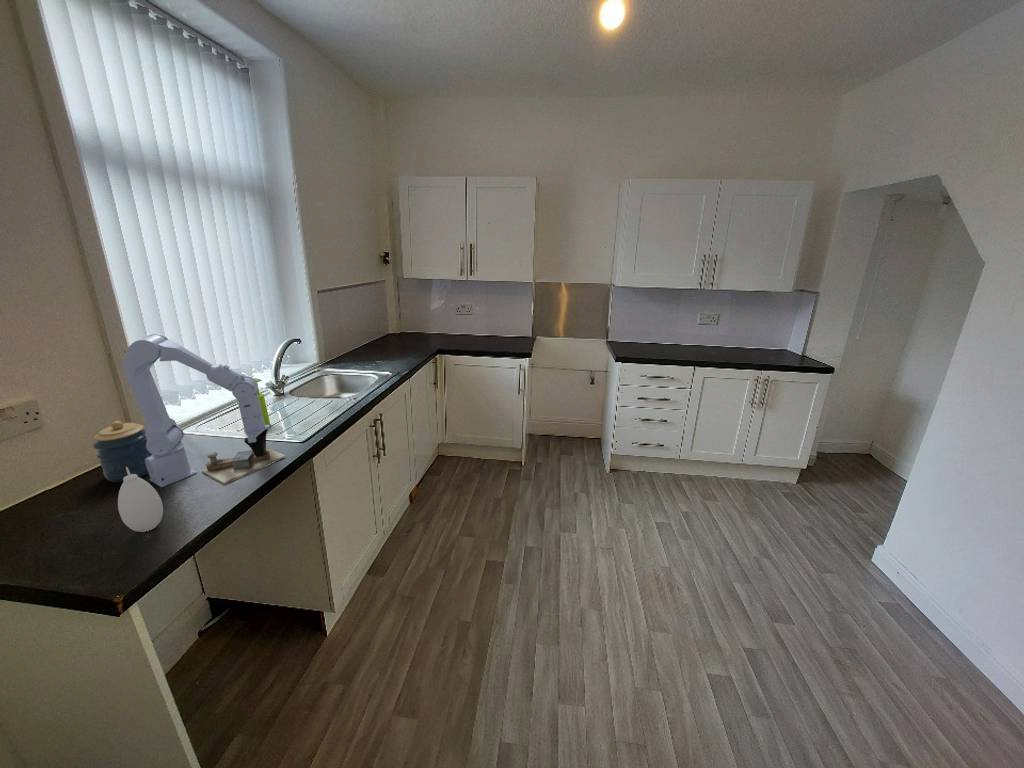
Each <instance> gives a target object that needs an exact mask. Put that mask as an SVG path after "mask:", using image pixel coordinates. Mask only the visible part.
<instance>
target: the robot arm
mask: <svg viewBox="0 0 1024 768" xmlns="http://www.w3.org/2000/svg"><path fill="white" fill-rule="evenodd" d="M125 352H126V355H125V358H124V362H123V365H122V370H123V373H124V375H125V378H126V379H127V382H128V384H129V387H130V389H131V391H132V393H133V396H134V399H135V400H136V402H137V403H136V404H137V405H138V408H139V409H140V412H141V414H142V417H143V419H144V421H145V423H146V429H145V430H146V434H145V436H146V438H147V444H146V448H147V450H148V451H149V452H150V453H151V454H153V455H152V456H150V457H148V458H146V459H145V464H146V467H147V470H148V473H149V474H148V476H149V477H150V479H149V480H150V481H151V482H152V483H153V484H155V485H156V486H158V487H160V488H164V487H166V486H169V485H171V484H173V483H174V484H175V483H176V482H178V481H181V480H183V479H187V478H188V477H191V476H193V475H196V474H197V473H198V472H197V471H196V470H195V469H193V468H191V465H190V462H189V459H188V456H187V452H186V448H185V445H184V443H183V442H182V440H183V438H184V436H185V433H184V432H185V431H183V429H182V428H181V427H180V426H179V425H178V424H177V422H176V420H175V419H173V418H170V416H169V413H168V411H167V409H166V406H165V404H164V401H163V399H162V396H161V393H160V391H159V389H158V386H157V384H156V381H155V379H154V375H153V374H152V371H151V368H152V367H153V366H154V365H155V363H156V362H157V360H159V362H173V361H174V362H178V363H180V364H182V365H184V366H186V367H189V368H191V369H193V370H196V371H198V372H200V373H202V374H204V375H205V376H206V379H207V380H208V381H209V382H211V383H213V384H215V385H217V386H218V387H221V388H223V389H224V390H227V391H229V392H231V394H232V396H233V397H234V398H235V399H237V403H238V404H237V405H238V409H239V413H240V416H241V421H242V425H243V428H244V429H243V432H244V434H245V435H246V437H244V439H243V440H244V443H245V444H246V445H248V447H249V448H250V450H252V451H253V453H254V454H255V456H256V457H261V456H264V443H265V447H267V433H268V430H269V429H270V427H271V424H270V425H265V423H264V418H263V414H262V409H261V405H260V401H259V398H258V394H257V392H256V391H257V389H259V382H257V381H256V380H254V379H253V377H252V376H246V375H244V374H239V373H238V372H236V371H235V370H232V369H231V368H230V366H229V365H227V364H224V365H223V364H221V363H220V364H213V363H211V362H209V361H207V360H206V359H204V358H202V357H200V356H198V354H195V353H194V352H192V351H190V350H189V349H187V348H185V346H184V347H183V346H182V345H180V344H179V343H178V342H177V341H175V340H174V339H171V338H167V337H166V336H165V335H163V334H161V333H153V334H149V335H148V336H145V337H143V338H141V339H139V340H135V341H134V342H132V343H131V344H130V345H129V346H128V347H127V348H126V349H125ZM255 392H256V393H255Z"/></svg>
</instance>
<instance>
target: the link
mask: <svg viewBox="0 0 1024 768" xmlns="http://www.w3.org/2000/svg"><path fill="white" fill-rule="evenodd" d="M266 447H267V446H266ZM266 447H265V443H264V456H261V457H256V456H255V454H253V455H252V456H251V458H250V460H251V462H254V461H259V460H265V459H269V457H270V453H269V451H266ZM218 455H219V454H218V452H216V451H215V452H210V453H208V454H207V455H206V456H207V458H208V459H210V460H209V461H208V462H207V463H206V464H205V467H206V468H207V470H217V469H220V468H223V467H228V466H232V462H231V461H232V460H233V459H234V457H235V456H233V457H227V458H222V459H218V458H217V456H218Z"/></svg>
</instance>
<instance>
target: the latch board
mask: <svg viewBox="0 0 1024 768" xmlns="http://www.w3.org/2000/svg"><path fill="white" fill-rule="evenodd" d="M266 451H269V453H270V457H269V459H265V460H259V461H254V462H251V464H252V466H251V467H250V468H247V469H240V470H234V469H233V466H228V467H223V468H220V469H217V470H207V467H206V468H203V469H201V472H202V474H204V475H207V476H208V477H210V478H212V479H213V480H215V481H217V482H218V483H221V484H222V485H228V484H229V482H230V483H232V482H234V481H236V480H239V479H241V478H243V477H246V476H247V474H248V475H250V474H252V473H254V472H253V471H255V470H257V469H259V468H261V469H263V468H262V467H264V466H266V465H268V464H270V463H272V462H274V461H276V460H279V459H281V458H284V457H286V455H285V454H283V453H280V452H278V451H275V450H274V449H271V448H269V447H267V446H266ZM253 454H254V453H253ZM286 458H287V457H286ZM284 459H285V458H284ZM279 461H280V460H279ZM270 465H271V464H270ZM268 466H269V465H268ZM266 467H267V466H266ZM264 468H265V467H264ZM259 470H260V469H259ZM257 471H258V470H257ZM251 472H252V473H251ZM255 472H256V471H255ZM249 473H250V474H249ZM245 475H246V476H245Z"/></svg>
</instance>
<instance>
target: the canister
mask: <svg viewBox="0 0 1024 768" xmlns="http://www.w3.org/2000/svg"><path fill="white" fill-rule="evenodd" d="M110 425H111V426H108V427H105V428H103V429H102V430H100V431H99V432H98V433H97V434H96V435H94V437H93V439H94V440H95V442H94V443H93V445H92V447H93V449H95V450H97V454H96V457H97V458H98V461H99V463H100V466H101V469H102V471H103V476H104V478H105V479H106V480H107V481H108V482H110V481H111V483H121V482H122V483H123V482H124V481H123V478H124V477H125V476H128V474H127V470H126V467H127V468H128V469H129V472H130V474H136V475H137V476H138V477H139V478H142V477H145V476H146V475H149V473H148V470H147V467H146V464H145V459H146V458H148V457H150V456H152V455H153V454H151V453H150V452H149V451H148V450H147V448H146V444H147V438H146V436H145V434H146V429H144V428H145V426H144V425H143V424H139V423H136V422H125V423H123V421H120V420H115V421H113V422H112V423H111V424H110Z"/></svg>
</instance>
